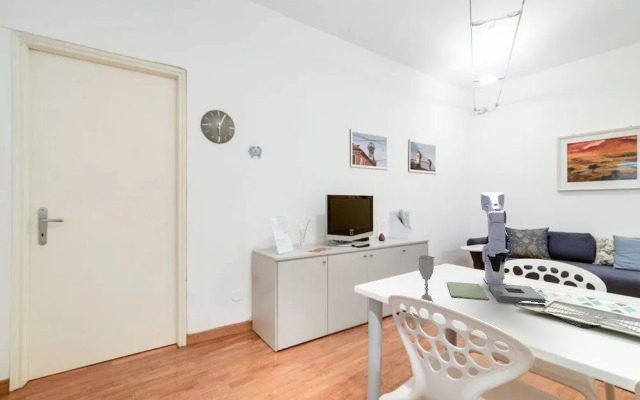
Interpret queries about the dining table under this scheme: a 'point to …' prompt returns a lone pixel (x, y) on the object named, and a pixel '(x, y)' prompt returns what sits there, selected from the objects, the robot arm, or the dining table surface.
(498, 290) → the housing
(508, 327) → the dining table surface
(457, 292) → the mat
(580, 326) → the phone
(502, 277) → the cylinder
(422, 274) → the chalice
